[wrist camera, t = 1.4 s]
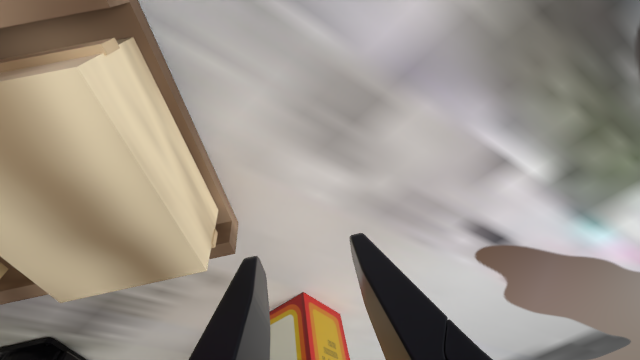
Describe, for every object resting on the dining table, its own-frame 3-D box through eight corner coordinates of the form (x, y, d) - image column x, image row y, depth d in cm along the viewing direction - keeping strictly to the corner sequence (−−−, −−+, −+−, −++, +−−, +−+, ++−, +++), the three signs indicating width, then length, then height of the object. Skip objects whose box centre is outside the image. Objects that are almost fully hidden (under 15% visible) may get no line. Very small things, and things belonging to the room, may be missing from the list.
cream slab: (102, 238, 20) (62, 306, 16) (-53, 64, 13) (-194, 108, 9) (221, 213, 20) (210, 273, 16) (131, 29, 13) (74, 56, 9)
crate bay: (14, 270, 22) (-29, 322, 19) (-281, 42, 12) (-474, 69, 9) (238, 222, 22) (233, 265, 19) (123, -32, 13) (75, -32, 10)
